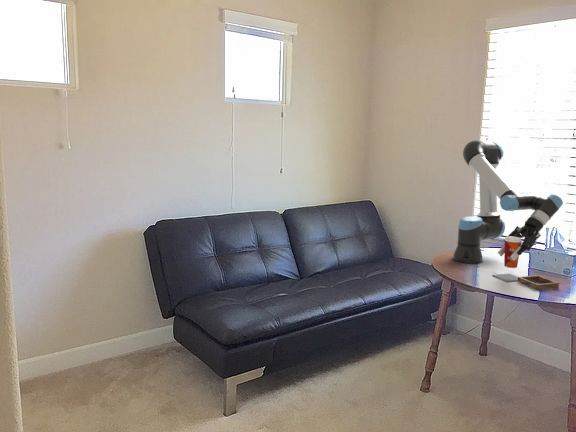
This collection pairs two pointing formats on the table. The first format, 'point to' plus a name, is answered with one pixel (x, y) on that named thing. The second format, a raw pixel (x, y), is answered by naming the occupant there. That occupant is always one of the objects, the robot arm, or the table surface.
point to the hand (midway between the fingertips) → (505, 256)
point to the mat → (506, 277)
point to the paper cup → (511, 251)
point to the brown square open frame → (547, 282)
